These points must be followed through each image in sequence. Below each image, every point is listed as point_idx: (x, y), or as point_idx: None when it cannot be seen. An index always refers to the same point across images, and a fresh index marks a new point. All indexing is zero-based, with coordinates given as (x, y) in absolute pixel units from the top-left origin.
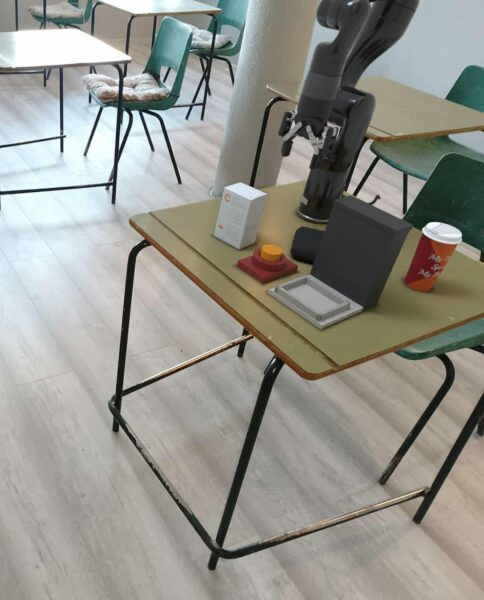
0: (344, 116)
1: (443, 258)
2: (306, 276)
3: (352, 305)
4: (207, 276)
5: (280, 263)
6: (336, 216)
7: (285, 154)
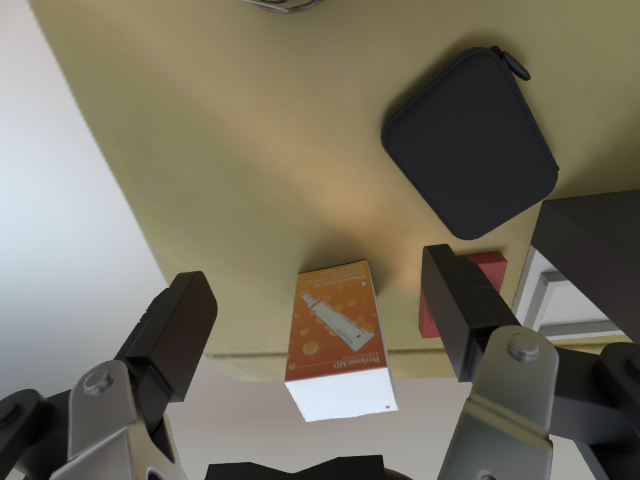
0: None
1: None
2: (553, 285)
3: None
4: (417, 368)
5: None
6: None
7: (210, 310)
